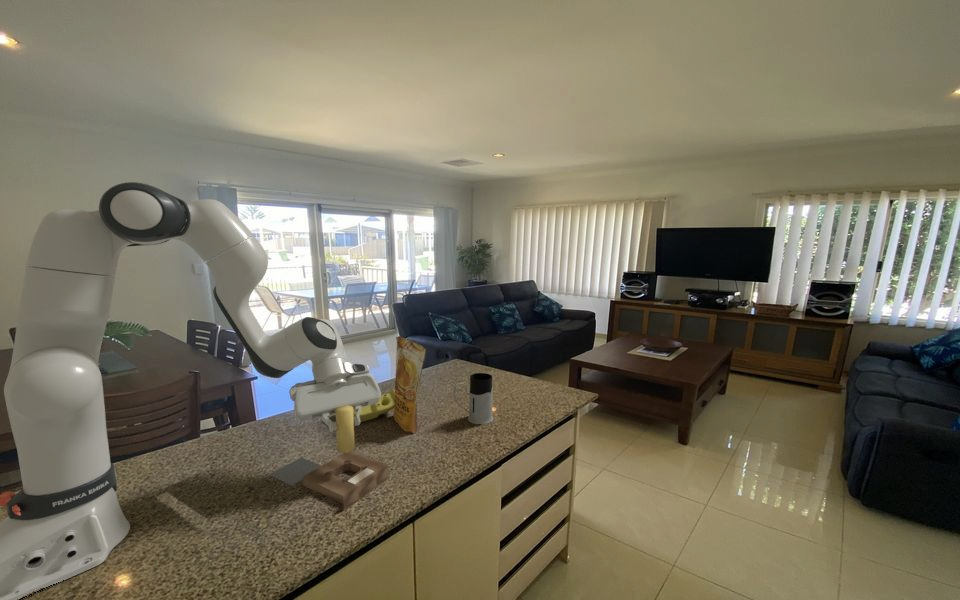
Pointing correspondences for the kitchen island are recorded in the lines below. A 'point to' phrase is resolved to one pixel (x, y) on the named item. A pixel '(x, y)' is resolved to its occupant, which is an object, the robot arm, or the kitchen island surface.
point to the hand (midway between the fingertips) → (345, 427)
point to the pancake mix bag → (407, 382)
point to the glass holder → (479, 398)
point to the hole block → (348, 488)
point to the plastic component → (377, 407)
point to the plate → (294, 471)
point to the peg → (345, 429)
